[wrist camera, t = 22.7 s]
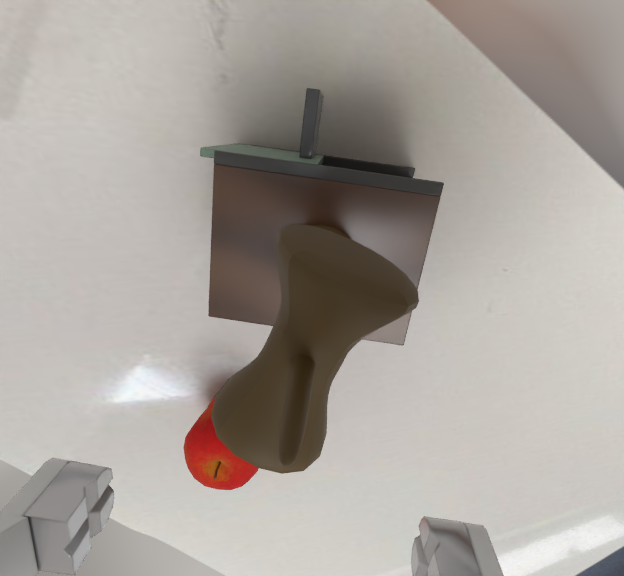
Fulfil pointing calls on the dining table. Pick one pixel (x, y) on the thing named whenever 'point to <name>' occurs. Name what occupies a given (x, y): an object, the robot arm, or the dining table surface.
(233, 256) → the cabinet
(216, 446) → the apple
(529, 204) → the dining table surface
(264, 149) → the door
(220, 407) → the kendama
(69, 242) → the dining table surface
